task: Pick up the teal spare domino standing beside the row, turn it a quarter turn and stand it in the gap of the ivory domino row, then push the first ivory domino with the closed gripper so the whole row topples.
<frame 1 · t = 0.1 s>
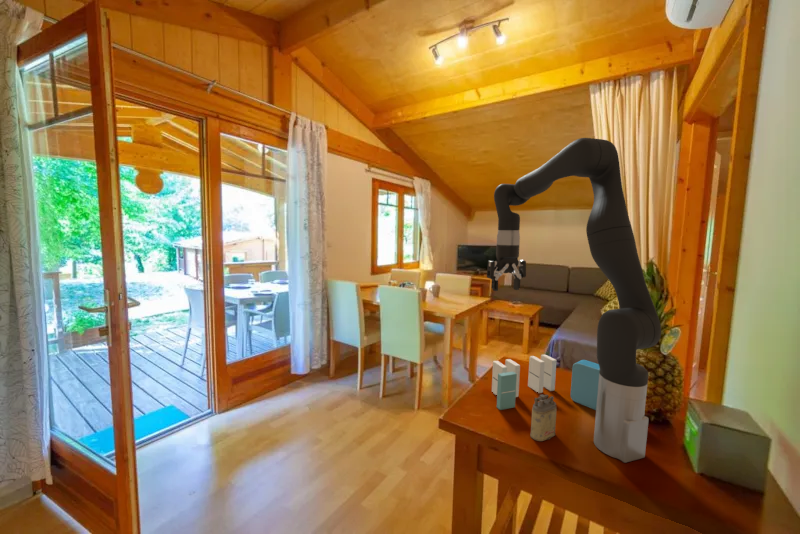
hand: (505, 290, 118), 29 cm above the table, tool pointing down, fingers open, 8 cm apart
spare domino: (505, 407, 97), on the table
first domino: (546, 387, 109), on the table
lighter: (543, 436, 84), on the table
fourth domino: (511, 393, 105), on the table
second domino: (535, 389, 107), on the table
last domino: (498, 395, 103), on the table
blue flat block: (594, 406, 98), on the table
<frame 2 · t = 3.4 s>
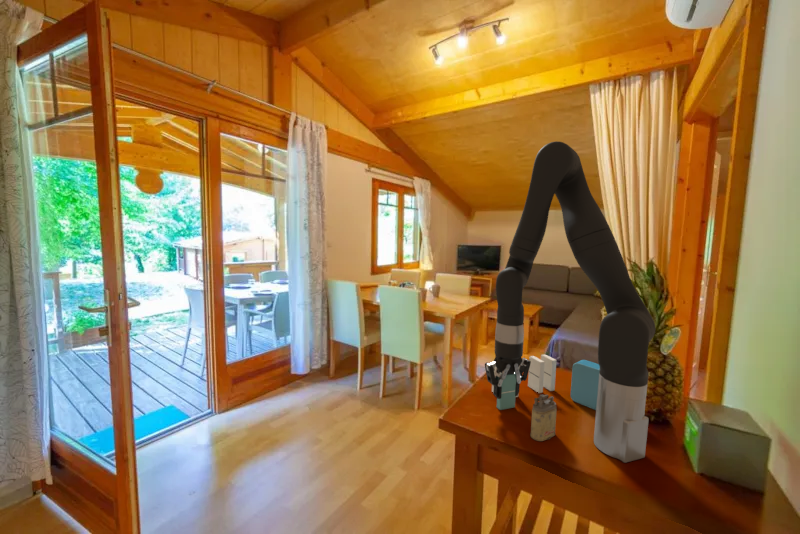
hand: (506, 395, 96), 3 cm above the table, tool pointing down, fingers closed on spare domino, 5 cm apart
spare domino: (505, 407, 97), on the table, touching gripper
everything else where it was.
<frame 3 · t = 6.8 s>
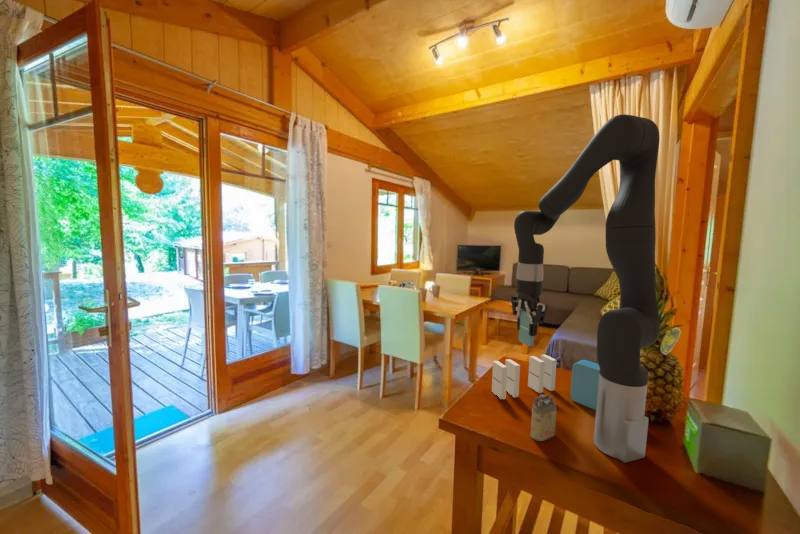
hand: (526, 332, 104), 19 cm above the table, tool pointing down, fingers closed on spare domino, 5 cm apart
spare domino: (525, 343, 104), point 16 cm above the table, touching gripper
everything else where it was.
when the fingers open (4 cm above the table, at t = 9.8 s): spare domino stays where it is, on the table.
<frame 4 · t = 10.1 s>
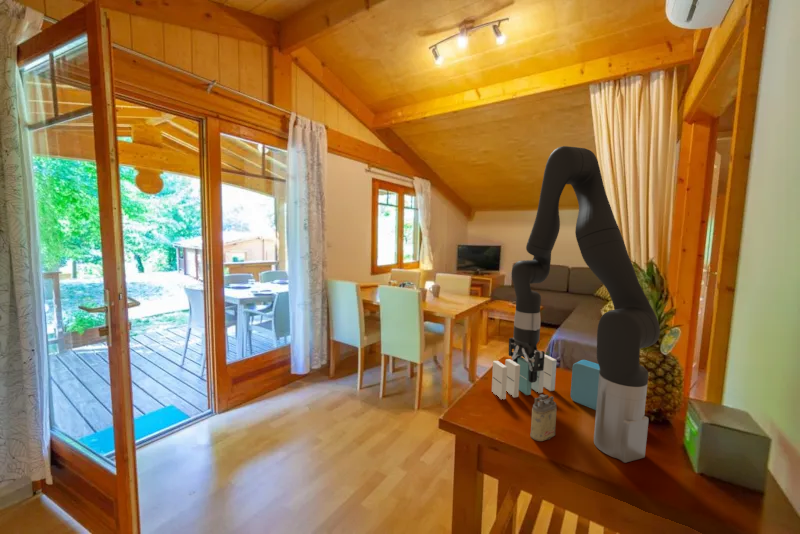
hand: (524, 376, 105), 5 cm above the table, tool pointing down, fingers open, 7 cm apart
spare domino: (523, 391, 106), on the table
everything else where it was.
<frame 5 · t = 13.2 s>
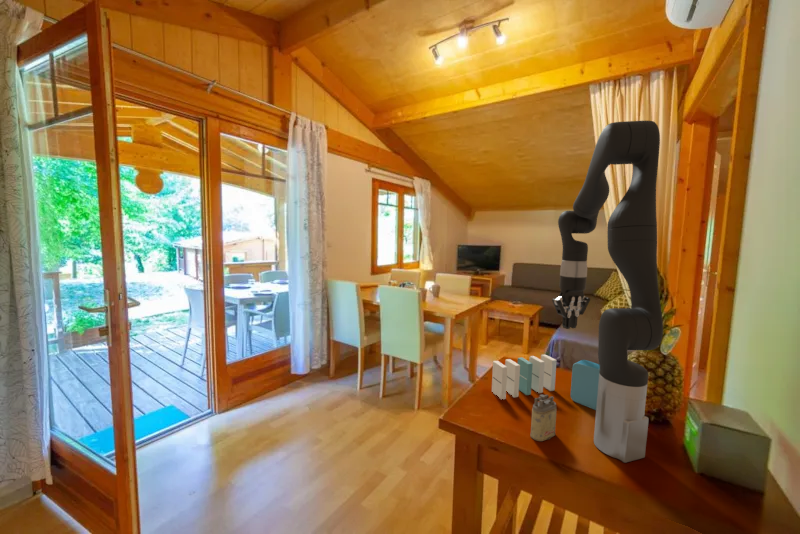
hand: (569, 327, 109), 19 cm above the table, tool pointing down, fingers closed
nothing on the table moved.
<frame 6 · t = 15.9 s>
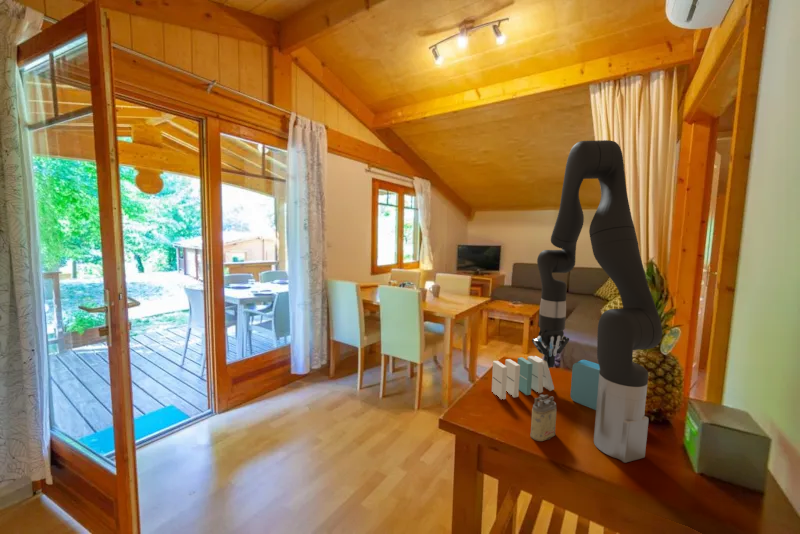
hand: (549, 366, 108), 7 cm above the table, tool pointing down, fingers closed
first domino: (546, 386, 109), on the table, tilted 21°, touching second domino
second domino: (535, 389, 107), on the table, touching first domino
everything else where it was.
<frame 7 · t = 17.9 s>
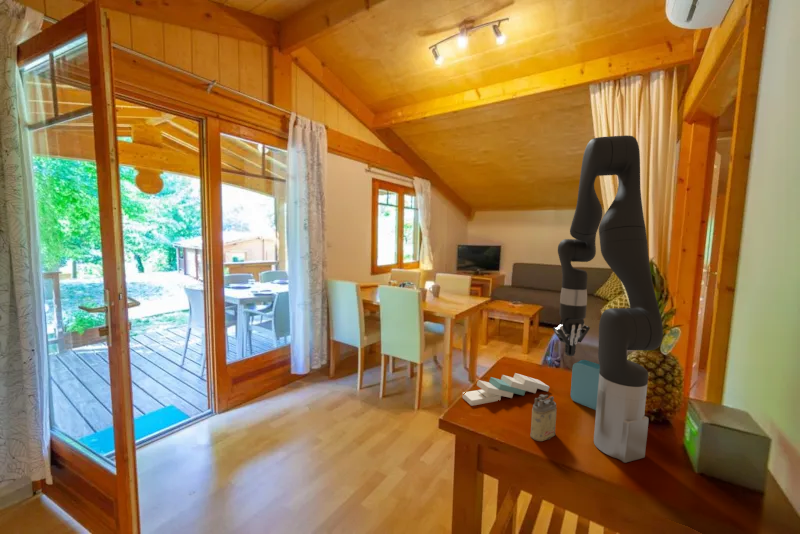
hand: (569, 355, 109), 10 cm above the table, tool pointing down, fingers closed
spare domino: (519, 389, 105), point 1 cm above the table, tilted 68°, touching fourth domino, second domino
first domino: (543, 385, 108), point 1 cm above the table, tilted 69°, touching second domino
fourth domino: (507, 391, 104), point 1 cm above the table, tilted 70°, touching spare domino
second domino: (530, 387, 107), point 1 cm above the table, tilted 68°, touching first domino, spare domino
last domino: (495, 394, 103), point 1 cm above the table, tilted 89°
everything else where it was.
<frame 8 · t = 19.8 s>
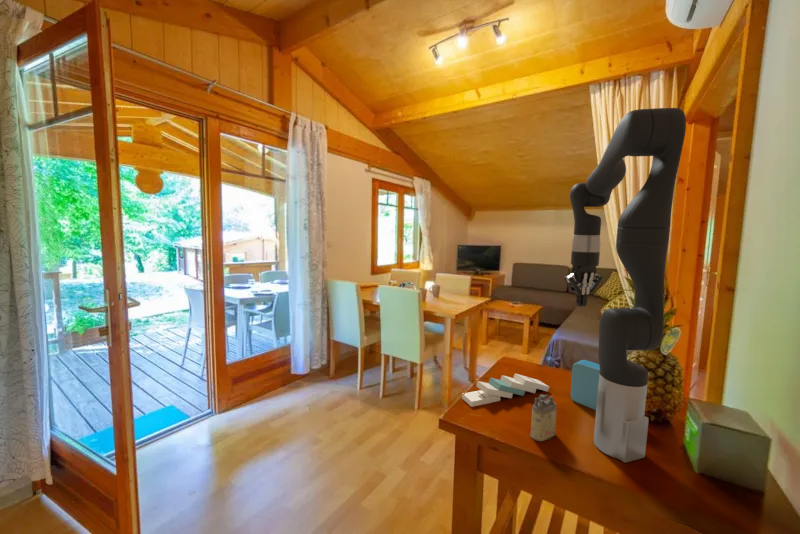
hand: (581, 305, 105), 27 cm above the table, tool pointing down, fingers closed
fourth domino: (506, 392, 104), point 1 cm above the table, tilted 70°, touching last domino, spare domino
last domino: (495, 394, 102), point 1 cm above the table, tilted 89°, touching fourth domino
everything else where it was.
at the end: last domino tilted 89°; spare domino tilted 69°; spare domino inside the target area (0.9 cm from its centre), point 0.7 cm above the table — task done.
